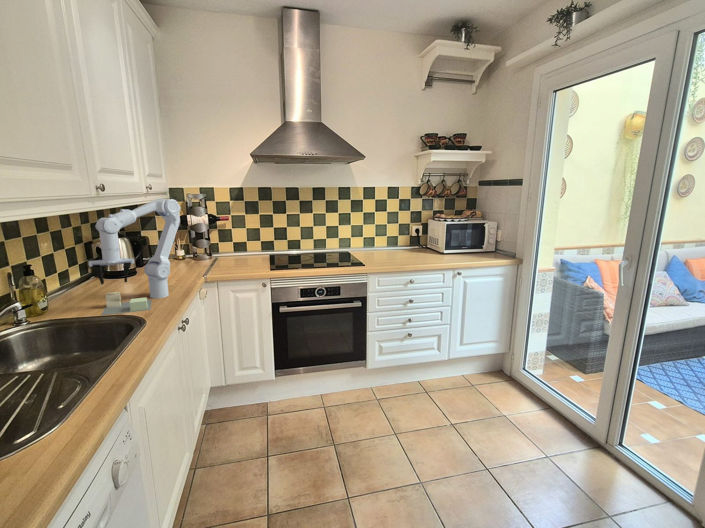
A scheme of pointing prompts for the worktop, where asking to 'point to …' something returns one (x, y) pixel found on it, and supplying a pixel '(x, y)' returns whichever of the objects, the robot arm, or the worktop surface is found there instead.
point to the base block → (138, 304)
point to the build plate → (122, 308)
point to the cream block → (113, 299)
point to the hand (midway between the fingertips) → (114, 282)
